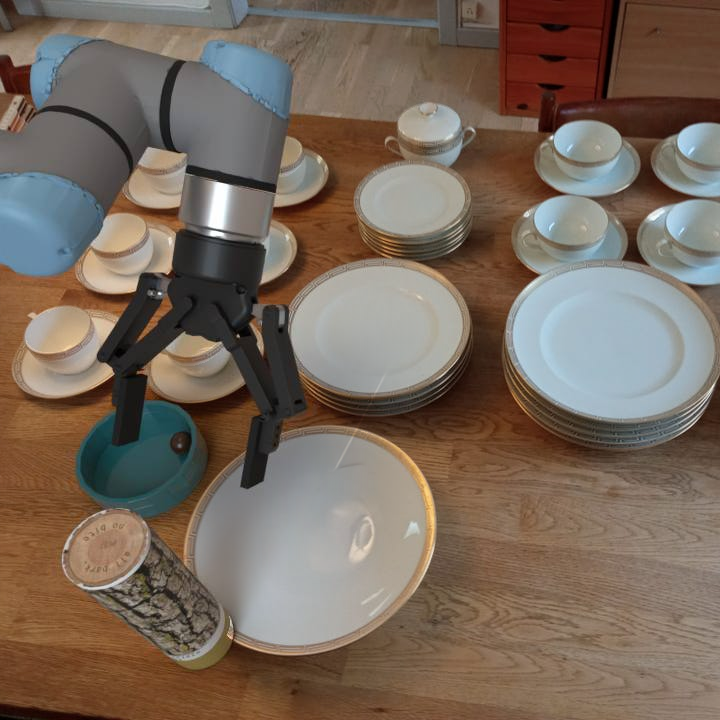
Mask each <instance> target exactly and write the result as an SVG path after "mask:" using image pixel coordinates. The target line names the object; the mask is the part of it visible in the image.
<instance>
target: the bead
mask: <svg viewBox="0 0 720 720" xmlns="http://www.w3.org/2000/svg"><path fill="white" fill-rule="evenodd" d="M191 444H192V436H191V433H189V432H186V431H180V432H177V433H175V434H174V435H173V436H172V437H171V439H170V448H171V450H172V451H173V452H174V453H175V454H178V455H186V454H189V450H190V447H191Z"/></svg>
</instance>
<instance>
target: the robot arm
mask: <svg viewBox="0 0 720 720" xmlns="http://www.w3.org/2000/svg"><path fill="white" fill-rule="evenodd" d="M293 85H294V73H293V70H292V68H291V67H290V65H289V64H288V63H287V62H286V61H285V60H284V59H283V58H281V57H279V56H277V55H276V54H273V53H270V52H269V51H266V50H263V49H260V48H257V47H254V46H252V45H248V44H245V43H239V42H235V41H226V40H223V39H211V40H208V41H207V42H206V43H205V44H204V46H203V50H202V54H201V55H200V56H199V60H198V61H197V60H183V59H180V58H175V57H171V56H168V55H164V54H160V53H156V52H152V51H148V50H146V49H145V50H144V49H141V48H137V47H133V46H128V45H124V44H121V43H116V42H114V41H112V40H109V39H106V38H99V37H94V38H91V37H87V36H81V35H75V34H70V33H56V34H52V35H50V36H48V37H46V38H45V39H44V40H43V41H42V42H41V43H40V45H38V47H37V49H36V51H35V62H33V63H32V64H31V66H30V74H29V86H30V93H31V98H32V101H33V104H34V107H35V109H36V110H37V112H36V113H35V114H34V115H32V117H31V118H30V120H29V121H28V122H27V124H26V125H25V126H24V127H23V128H22V130H21V131H12V130H11V131H10V130H7V129H2V128H0V265H4V266H7V267H8V268H10V269H11V270H12V271H13V272H14V273H16V274H20V275H23V276H28V277H34V278H47V277H55V276H59V275H62V274H64V273H66V272H68V271H69V270H71V269H72V268H73V267H74V266H75V265H76V264H77V262H78V261H79V260H80V259H81V257H82V256H83V255H84V253H85V252H86V251H87V250H88V248H89V247H90V246H91V244H92V243H93V242H94V240H96V239H97V237H98V236H99V235H100V233H101V231H102V229H103V227H104V222H105V219H106V218H107V216H108V214H109V212H110V211H111V209H112V207H113V205H114V204H115V202H116V200H117V199H118V196H119V194H120V193H121V191H122V189H123V188H124V186H125V185H126V183H127V182H128V181H129V179H130V178H131V176H132V174H133V172H134V171H135V169H136V167H137V166H138V164H139V162H140V161H141V159H142V158H143V156H144V154H145V153H146V151H147V149H148V148H152V149H157V150H160V151H161V150H162V151H166V152H170V153H174V154H185V155H186V166H185V170H184V177H183V183H182V190H181V196H180V202H179V209H178V214H177V219H178V220H179V221H180V223H183V224H184V228H179V229H178V231H176V232H175V238H174V245H173V252H172V259H171V268H172V270H173V271H174V273H173V276H172V278H169V276H168V274H167V273H166V272H164V271H163V272H162V271H161V272H160V271H156V272H155V271H152V272H151V271H144V272H141V273H140V274H139V277H138V280H137V284H136V289H135V293H134V295H133V297H132V299H131V300H130V301H129V303H128V304H127V306H126V308H125V309H124V311H123V312H122V313H121V316H120V317H119V318H118V320H117V322H116V323H115V325H114V326H113V328H112V330H111V331H110V332H109V334H108V335H107V337H106V338H105V340H104V341H103V343H102V344H101V346H100V348H99V350H98V351H97V353H96V360H97V361H98V362H99V363H101V364H105V365H107V366H108V367H110V368H111V370H112V372H113V374H114V377H113V384H112V392H111V407H114V408H116V409H115V410H116V414H115V421H114V428H113V435H112V443H111V445H113V446H116V447H120V446H123V445H126V444H129V443H133V442H136V441H139V434H140V427H141V420H142V413H143V406H144V401H146V391H147V385H148V378H149V375H148V374H145V373H138V372H143V371H145V370H146V368H145V367H146V366H147V365H148V364H149V363H150V362H151V361H153V359H155V358H156V357H157V356H158V355H160V354H161V353H162V352H163V351H164V350H165V349H166V348H168V346H170V345H171V344H173V342H174V341H176V339H178V338H179V337H180V336H181V335H182V334H183V333H184V334H185V335H187V336H191V337H201V338H203V339H205V340H206V341H209V342H211V343H212V342H213V343H222V345H223V347H224V349H225V350H226V351H227V352H228V353H230V354H231V356H232V358H233V361H234V362H235V365H236V367H237V368H238V370H239V372H240V374H241V377H242V379H243V380H244V382H245V384H246V387H247V389H248V391H249V393H250V395H251V397H252V399H253V402H254V403H255V405H256V407H257V409H258V411H259V413H260V414H257V415H255V416H252V417H251V420H250V427H249V433H248V438H247V444H246V448H245V449H246V450H245V455H244V461H243V467H242V472H241V479H240V485H239V488H241V489H245V490H249V489H252V488H254V487H256V486H258V485H259V484H262V483H263V482H264V481H265V477H266V471H267V465H268V460H269V454H270V455H271V454H273V453H275V452H276V451H277V450H278V448H279V446H280V440H281V435H282V429H283V423H284V420H285V419H287V420H290V419H293V418H294V417H297V416H300V415H303V414H305V413H306V412H307V409H308V405H307V401H306V397H305V393H304V389H303V384H302V381H301V377H300V372H299V369H298V364H297V360H296V357H295V352H294V349H293V344H292V341H291V336H290V332H289V323H290V322H289V321H290V308H289V306H288V305H287V304H286V303H280V304H268V303H267V304H266V303H259V302H260V301H259V299H258V290H259V287H260V285H261V283H262V280H263V274H264V268H265V261H266V257H267V250H268V249H267V248H265V247H266V246H265V245H264V243H261V241H262V240H265V239H267V238H268V237H269V235H270V231H271V230H270V229H271V224H272V219H273V212H274V208H275V207H274V206H275V201H276V193H277V188H278V183H279V182H278V181H279V176H280V171H281V170H280V169H281V166H282V161H283V155H284V150H285V145H286V144H285V143H286V138H287V135H288V134H287V133H288V128H289V125H290V123H291V117H290V113H291V112H290V111H291V102H292V95H293V94H292V93H293ZM167 297H168V299H169V301H170V304H171V307H172V308H171V309H169V310H168V311H167V312H166V313H165V314H164V315H163V316H161V317H160V318H159V319H158V320H157V324H156V325H155V326H154V327H152V328H151V329H150V330H149V331H148V332H147V333H145V335H143V336H142V334H143V333H144V331H145V330H146V328H147V327H148V325H149V323H150V322H151V320H152V319H153V317H154V315H155V314H156V312H157V311H158V310H159V308H160V306H161V305H162V303H163V301H164V299H166V298H167ZM255 318H256V319H257V321H256V325H257V326H258V327H260V328H261V338H262V343H263V346H264V350H265V355H266V358H267V362H268V364H267V362H266V360H265V359H264V356H263V355H262V352H261V350H260V348H259V346H258V342H259V341H258V337H257V335H256V334H255V332H254V329H253V328H252V327H253V326H251V322H252V321H253V320H254V319H255ZM141 336H142V337H141ZM140 337H141V338H140ZM139 338H140V339H139Z"/></svg>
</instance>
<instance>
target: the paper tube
mask: <svg viewBox="0 0 720 720" xmlns="http://www.w3.org/2000/svg"><path fill="white" fill-rule="evenodd" d="M61 566H62V570H63V572H64V574H65V576H66V577H67V578H68V580H69V581H71V582H72V584H74V585H75V586H76V587H77V588H79V589H80V590H82V591H83V592H84V593H86V594H87V595H88V596H90V597H91V599H93V600H95V602H97V603H99V604H100V605H101V606H102V607H104V608H105V609H106V610H108V611H109V612H110V613H111V614H113V615H114V616H115V617H117V618H118V619H119V620H120V621H122V622H123V623H124V624H125V625H127V626H128V627H129V628H131V629H132V630H133V631H135V632H136V633H137V634H139V636H141V637H143V638H144V639H145V640H146V641H148V642H149V643H150V644H152V645H153V646H154V647H155V648H156V649H158V650H160V651H161V652H162V653H163V654H165V655H166V656H167V657H168V658H170V659H172V660H173V661H174V662H175V663H176V664H177V665H179V666H181V667H183V668H185V669H187V670H194V671H196V670H203V669H206V668H209V667H212V666H213V665H215V664H216V663H217V662H219V661H220V660H222V658H224V656H225V655H226V654H227V652H228V651H229V650H230V648H231V646H232V644H233V641H232V640H231V639H229V637H228V636H227V633H228V631H229V627H230V618H229V615H230V614H229V615H228V613H229V612H228V611H227V610H226V609H225V608H224V606H223V605H221V603H220V602H219V601H218V599H217V598H216V597H215V596H214V595H213V594H212V593H211V592H210V590H208V588H207V587H206V586H205V585H204V584H203V583H202V582H201V580H199V578H198V577H196V575H195V574H194V573H193V571H191V570H190V569H189V568H188V567H187V565H186V564H185V563H184V562H183V561H182V560H181V559H180V558H179V557H178V555H177V554H176V553H175V552H174V551H173V550H172V549H171V548H170V546H168V544H167V543H166V542H165V541H164V540H163V539H162V537H160V536H159V534H158V533H157V532H156V531H155V530H154V529H153V527H151V526H150V525H149V523H148V522H147V521H146V520H145V518H144V519H143V518H142V517H141V516H139V515H138V514H137V513H135V512H133V511H131V510H128V509H123V508H114V509H108V510H104V509H103V510H101V511H98V512H96V513H94V514H92V515H90V516H89V517H87V518H86V519H84V520H83V521H82V522H81V523H79V525H77V526H76V527H75V528H74V529H73V531H72V532H71V534H70V535H69V536H68V538H67V540H66V542H65V544H64V546H63V549H62V554H61ZM227 612H228V613H227Z"/></svg>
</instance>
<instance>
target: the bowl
mask: <svg viewBox="0 0 720 720" xmlns="http://www.w3.org/2000/svg"><path fill="white" fill-rule="evenodd" d="M115 414H116V409H115V410H113V411H112V412H110V413H108V414H107V415H105V416H104V417H103V418H102V419H101V420H99V421H98V422H97V423H95V424H94V425H93V426H92V428H91V429H90V430H89V431H88V433H87V434H86V435H85V437H84V438H83V439H82V440H81V443H80V444H79V445H80V446H79V448H78V450H77V453H76V455H75V469H74V472H75V473H74V474H75V476H76V479H77V481H78V483H79V486H80V488H81V489H82V490H83V491H84V492H85V493H86V494H87V495H88V496H89V497H90V498H91V499H92V500H93V501H94V502H95V503H97V505H98V506H100V508H101V509H103V511H104V510H108V509H114V508H123V509H128V510H131V511H133V512H135V513H137V514H138V515H139V516H141V517H142V518H143V519H144V520H145V519H149V518H153V517H156V516H159V515H162V514H164V513H167V512H168V511H171V510H172V509H174V508H175V507H177V506H178V505H180V504H182V503H183V502H184V501H185V500H186V499H187V498H188V497H189V496H190V495H192V493H193V492H194V491H195V490H196V488H197V487H198V485H199V484H200V482H201V480H202V479H203V477H204V475H205V472H206V469H207V465H208V459H209V452H208V451H209V450H208V446H207V442H206V440H205V437H204V436H203V435H202V433H201V431H200V429H199V427H198V426H197V424H196V423H195V421H194V419H193V418H192V416H191V415H190V413H188V412H187V411H185V409H183V408H182V407H181V406H180V405H178V404H174V403H171V402H168V401H165V400H144V406H143V413H142V420H141V427H140V434H139V441H136V442H133V443H129V444H126V445H123V446H120V447H116V446H113V445H111V443H112V435H113V428H114V421H115ZM180 431H186V432H189V433H191V436H192V444H191V447H190V450H189V454H186V455H178V454H175V453H174V452H173V451H172V450H171V448H170V439H171V437H172V436H173V435H174V434H175V433H177V432H180Z"/></svg>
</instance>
